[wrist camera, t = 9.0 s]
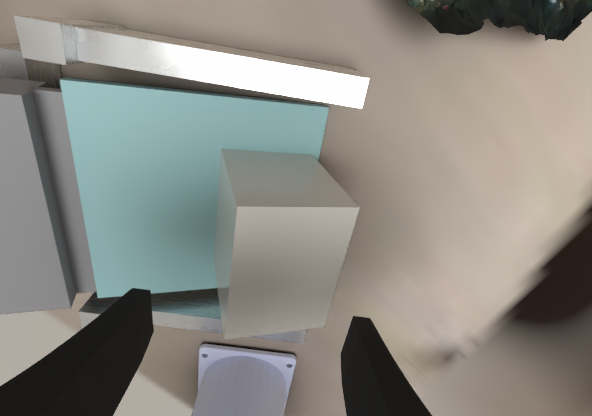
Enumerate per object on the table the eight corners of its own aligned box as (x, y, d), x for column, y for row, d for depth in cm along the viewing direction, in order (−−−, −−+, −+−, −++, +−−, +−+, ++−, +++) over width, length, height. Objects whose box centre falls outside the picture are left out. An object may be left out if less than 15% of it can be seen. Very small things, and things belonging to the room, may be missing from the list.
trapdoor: (287, 265, 24) (298, 292, 22) (-19, 286, 18) (-47, 326, 16) (318, 100, 18) (337, 112, 16) (-111, 52, 13) (-176, 61, 10)
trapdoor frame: (303, 299, 24) (303, 355, 20) (72, 269, 23) (21, 321, 19) (355, 67, 17) (373, 78, 12) (16, 7, 16) (-90, -3, 11)
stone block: (291, 254, 21) (323, 327, 16) (213, 258, 20) (224, 340, 15) (311, 154, 18) (359, 207, 13) (220, 148, 16) (237, 206, 12)
